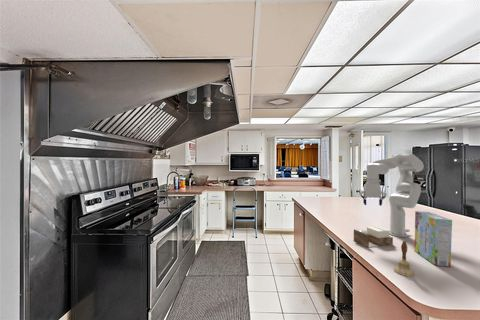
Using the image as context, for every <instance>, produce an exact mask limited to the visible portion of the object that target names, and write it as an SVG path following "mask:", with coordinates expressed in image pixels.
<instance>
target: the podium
mask: <svg viewBox="0 0 480 320" xmlns="http://www.w3.org/2000/svg"><path fill="white" fill-rule="evenodd" d="M357 230H358V229H353V241H354V242H355V243H357V244H359V245H361V246H364V247H366V248H377V247H378V246H379V247H382V246H383V247H385V246H384V245H386V246H393V244H394V238H393V237H394V236H391V235H389V237H386V238H377V237H374V236H372V235H369V234H367V233H362V232H360V231H357Z"/></svg>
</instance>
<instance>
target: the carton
mask: <svg viewBox="0 0 480 320" xmlns="http://www.w3.org/2000/svg"><path fill="white" fill-rule="evenodd" d="M366 231H367V234H369V235H372V236H374V237H377V238H386V237H389V236H390V234H389V231H390V229H387V228H384V227H380V226H367V227H366Z"/></svg>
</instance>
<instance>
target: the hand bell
mask: <svg viewBox="0 0 480 320" xmlns="http://www.w3.org/2000/svg"><path fill="white" fill-rule="evenodd" d="M400 249H401V253H402V254H401V255H402V256H401V259H400V260H398V264H397V266H396V267H395V268H394V269H393V271H394V272H395V273H396V274H398V275H400V276H405V277H413V276H414V275H415V274H414V272H413V271H412V269H411V267H410V262H408V261H407V252H408V245H407V241H405V240H402V243H401V245H400Z"/></svg>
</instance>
